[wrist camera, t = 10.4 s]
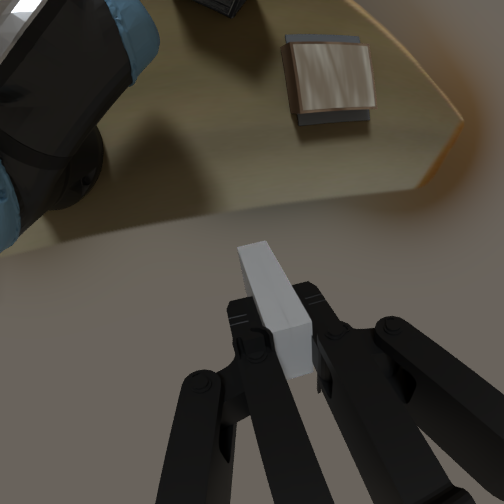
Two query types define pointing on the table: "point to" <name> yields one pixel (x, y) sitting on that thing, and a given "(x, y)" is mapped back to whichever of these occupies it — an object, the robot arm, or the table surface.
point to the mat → (328, 115)
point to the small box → (223, 6)
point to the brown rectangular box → (328, 76)
